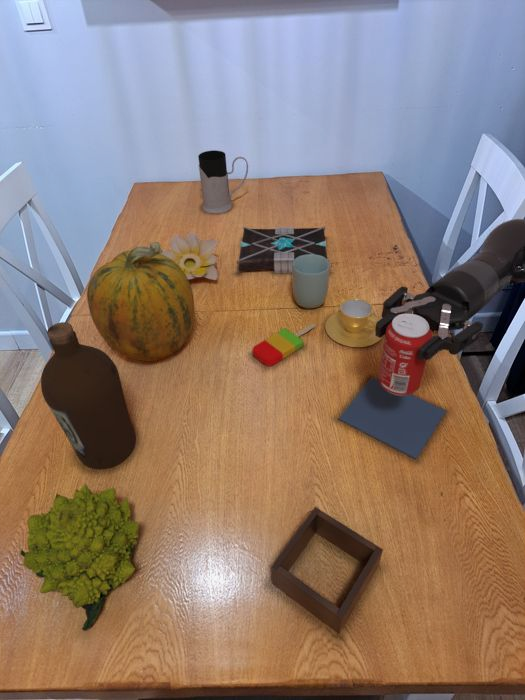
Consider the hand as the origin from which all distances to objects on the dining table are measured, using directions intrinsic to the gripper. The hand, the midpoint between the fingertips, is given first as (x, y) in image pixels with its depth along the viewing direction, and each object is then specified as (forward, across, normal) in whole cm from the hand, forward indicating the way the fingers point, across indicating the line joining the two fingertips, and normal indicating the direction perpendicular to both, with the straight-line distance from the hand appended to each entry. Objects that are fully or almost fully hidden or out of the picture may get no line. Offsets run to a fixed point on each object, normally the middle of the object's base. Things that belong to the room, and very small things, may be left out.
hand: (398, 343), depth 68 cm
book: (-27, +51, -20) cm, 61 cm away
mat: (-4, +1, -19) cm, 20 cm away
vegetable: (+45, +13, -19) cm, 51 cm away
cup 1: (-17, +33, -20) cm, 42 cm away
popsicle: (-4, +26, -19) cm, 33 cm away
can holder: (+24, -10, -19) cm, 32 cm away
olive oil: (+35, +29, -19) cm, 49 cm away
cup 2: (-17, +20, -20) cm, 33 cm away
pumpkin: (+15, +45, -19) cm, 52 cm away
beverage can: (-2, 0, -10) cm, 10 cm away
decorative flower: (-5, +60, -19) cm, 63 cm away
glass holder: (-35, +83, -20) cm, 92 cm away
